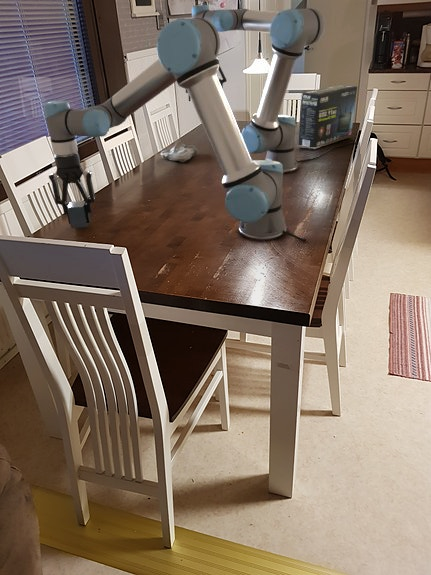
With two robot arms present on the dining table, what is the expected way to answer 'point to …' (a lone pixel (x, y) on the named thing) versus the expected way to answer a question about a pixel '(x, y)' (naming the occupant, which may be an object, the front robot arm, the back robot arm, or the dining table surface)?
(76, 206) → the brick
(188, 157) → the fossil
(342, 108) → the router box
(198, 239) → the dining table surface
